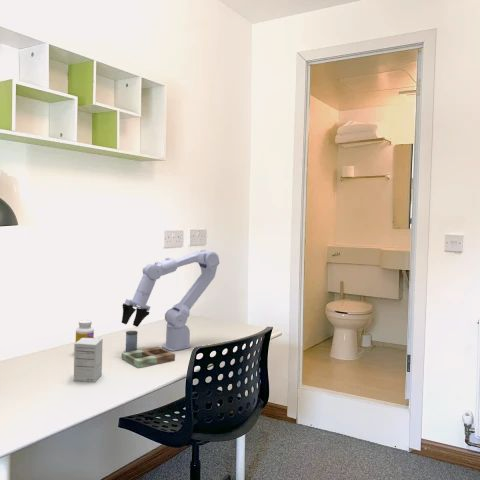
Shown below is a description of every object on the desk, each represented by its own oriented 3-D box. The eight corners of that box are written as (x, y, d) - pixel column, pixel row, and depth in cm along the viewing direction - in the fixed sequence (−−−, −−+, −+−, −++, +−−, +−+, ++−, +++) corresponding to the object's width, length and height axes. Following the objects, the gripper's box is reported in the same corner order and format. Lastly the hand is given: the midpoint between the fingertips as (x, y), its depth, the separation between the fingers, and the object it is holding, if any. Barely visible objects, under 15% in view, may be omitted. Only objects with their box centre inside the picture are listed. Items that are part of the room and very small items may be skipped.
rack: (157, 352, 191) (157, 346, 190) (174, 360, 182) (175, 353, 182) (121, 359, 180) (121, 353, 180) (138, 368, 171) (138, 361, 171)
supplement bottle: (87, 357, 180) (88, 324, 180) (71, 355, 182) (72, 322, 181) (96, 352, 187) (97, 320, 186) (80, 350, 188) (81, 318, 188)
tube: (133, 349, 194) (133, 330, 193) (139, 352, 190) (139, 332, 190) (123, 351, 191) (123, 331, 190) (128, 354, 187) (129, 334, 187)
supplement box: (80, 373, 163) (81, 337, 162) (102, 374, 163) (103, 338, 162) (72, 381, 156) (73, 343, 155) (95, 382, 155) (96, 344, 155)
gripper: (145, 293, 198) (132, 323, 196) (125, 285, 185) (110, 318, 183) (158, 298, 195) (145, 329, 193) (138, 291, 182) (124, 325, 180)
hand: (129, 324), depth 188 cm, fingers open, 7 cm apart
